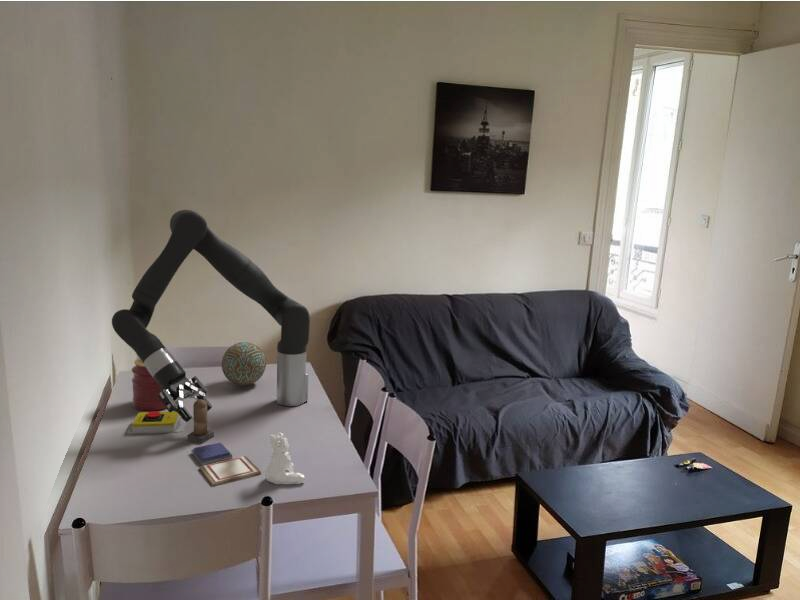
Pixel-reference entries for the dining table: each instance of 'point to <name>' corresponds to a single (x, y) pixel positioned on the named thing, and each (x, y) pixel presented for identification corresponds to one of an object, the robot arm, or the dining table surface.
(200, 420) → the stamp
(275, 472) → the seated beast figurine
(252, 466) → the framed board
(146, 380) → the canister
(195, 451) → the ink pad
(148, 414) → the emergency button
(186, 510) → the dining table surface
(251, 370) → the decorative sphere
